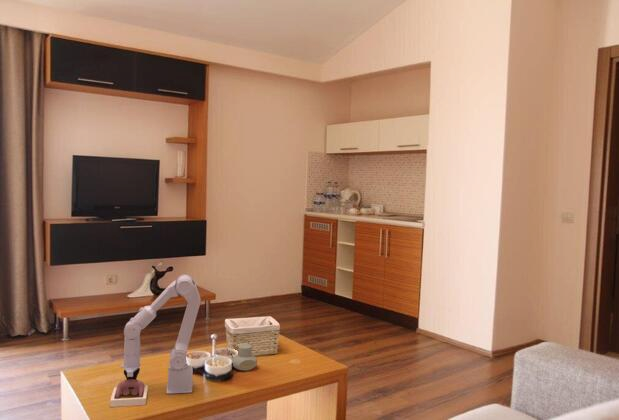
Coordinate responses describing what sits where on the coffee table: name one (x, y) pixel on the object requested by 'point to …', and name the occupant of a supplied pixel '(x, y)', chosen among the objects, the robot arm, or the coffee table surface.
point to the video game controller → (130, 383)
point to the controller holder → (128, 399)
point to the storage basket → (253, 334)
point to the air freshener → (244, 358)
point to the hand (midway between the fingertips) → (131, 388)
